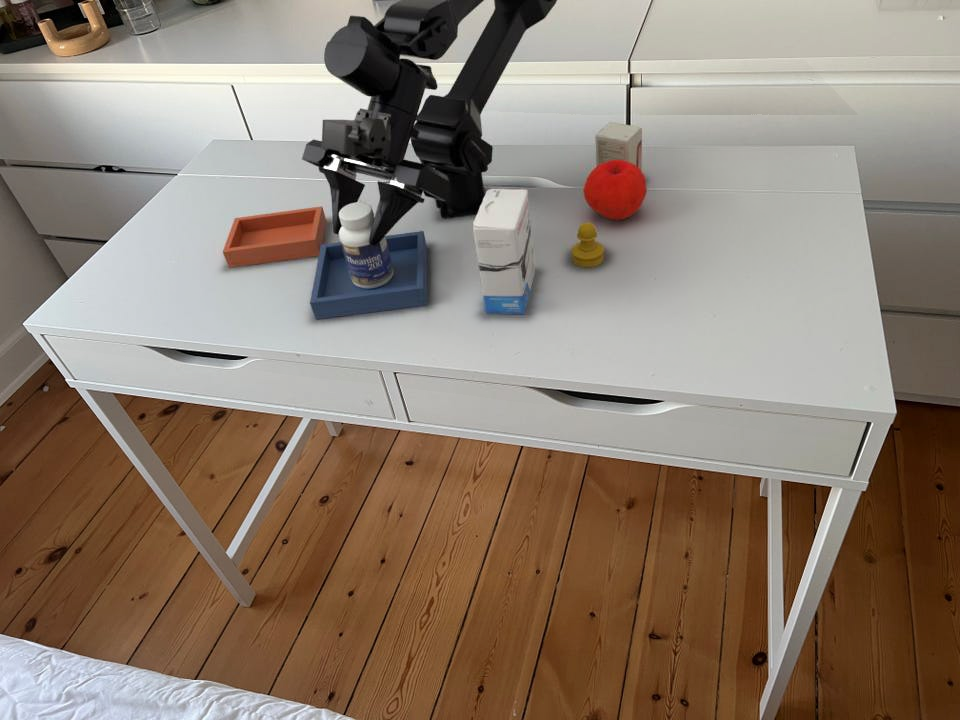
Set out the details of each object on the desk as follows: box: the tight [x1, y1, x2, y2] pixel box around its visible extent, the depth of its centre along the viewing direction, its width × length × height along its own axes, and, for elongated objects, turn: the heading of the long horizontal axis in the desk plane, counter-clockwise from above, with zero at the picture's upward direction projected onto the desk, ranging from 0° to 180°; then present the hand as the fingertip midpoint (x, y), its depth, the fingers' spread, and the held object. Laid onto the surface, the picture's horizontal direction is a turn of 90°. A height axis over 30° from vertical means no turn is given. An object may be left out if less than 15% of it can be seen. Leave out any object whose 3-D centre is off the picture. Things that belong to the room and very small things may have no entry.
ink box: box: [472, 188, 536, 315], centre depth 88 cm, size 8×5×12 cm, turn 168°
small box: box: [594, 121, 643, 172], centre depth 105 cm, size 5×4×8 cm
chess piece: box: [571, 221, 605, 268], centre depth 94 cm, size 4×4×5 cm
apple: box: [582, 160, 648, 221], centre depth 99 cm, size 8×8×7 cm
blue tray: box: [309, 230, 428, 320], centre depth 97 cm, size 14×13×3 cm
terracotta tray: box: [222, 205, 328, 269], centre depth 106 cm, size 13×9×3 cm
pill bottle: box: [338, 201, 394, 289], centre depth 94 cm, size 5×5×10 cm
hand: (354, 239), depth 92 cm, fingers closed on pill bottle, 5 cm apart
